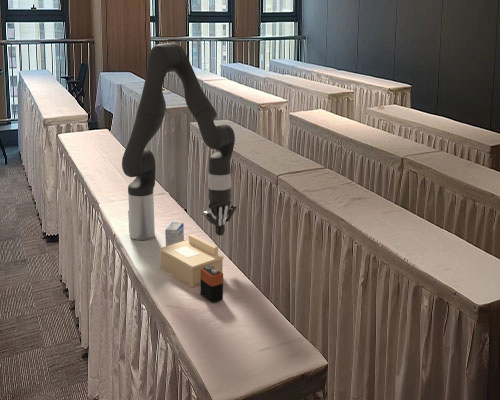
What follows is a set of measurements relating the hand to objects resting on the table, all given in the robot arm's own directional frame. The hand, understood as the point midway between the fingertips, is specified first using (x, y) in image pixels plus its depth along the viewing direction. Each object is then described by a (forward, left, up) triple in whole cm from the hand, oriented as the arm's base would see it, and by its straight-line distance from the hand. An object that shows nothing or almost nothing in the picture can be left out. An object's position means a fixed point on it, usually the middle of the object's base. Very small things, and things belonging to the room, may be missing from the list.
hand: (219, 234), depth 213 cm
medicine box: (-20, -5, -11) cm, 23 cm away
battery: (+18, -18, -11) cm, 27 cm away
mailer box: (0, -12, -11) cm, 16 cm away
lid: (0, -12, -4) cm, 13 cm away
